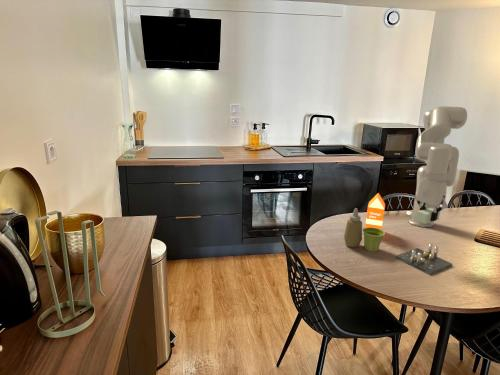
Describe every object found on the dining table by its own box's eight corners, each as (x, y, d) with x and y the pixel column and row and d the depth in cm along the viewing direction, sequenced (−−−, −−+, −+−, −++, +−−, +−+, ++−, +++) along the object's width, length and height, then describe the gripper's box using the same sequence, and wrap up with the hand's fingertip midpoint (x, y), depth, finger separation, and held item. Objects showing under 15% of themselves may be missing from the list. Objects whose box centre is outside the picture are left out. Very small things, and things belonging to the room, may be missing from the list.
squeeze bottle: (362, 243, 163) (366, 207, 158) (359, 250, 156) (364, 213, 150) (344, 239, 166) (348, 204, 161) (341, 246, 159) (345, 210, 154)
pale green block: (415, 220, 145) (416, 211, 144) (428, 216, 150) (430, 207, 149) (425, 223, 142) (426, 214, 140) (438, 220, 146) (440, 211, 145)
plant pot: (382, 246, 160) (384, 228, 158) (382, 255, 152) (385, 237, 149) (361, 242, 163) (363, 225, 161) (360, 251, 155) (362, 233, 152)
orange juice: (364, 234, 172) (368, 196, 166) (365, 227, 180) (370, 191, 174) (380, 237, 170) (386, 198, 164) (381, 230, 177) (386, 193, 171)
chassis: (395, 257, 150) (397, 245, 148) (417, 250, 157) (419, 237, 155) (430, 275, 137) (432, 261, 135) (451, 265, 144) (454, 252, 142)
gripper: (410, 172, 145) (404, 213, 151) (450, 182, 132) (441, 227, 137) (421, 171, 149) (415, 211, 154) (461, 180, 135) (452, 224, 140)
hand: (427, 218), depth 145 cm, fingers closed on pale green block, 4 cm apart
